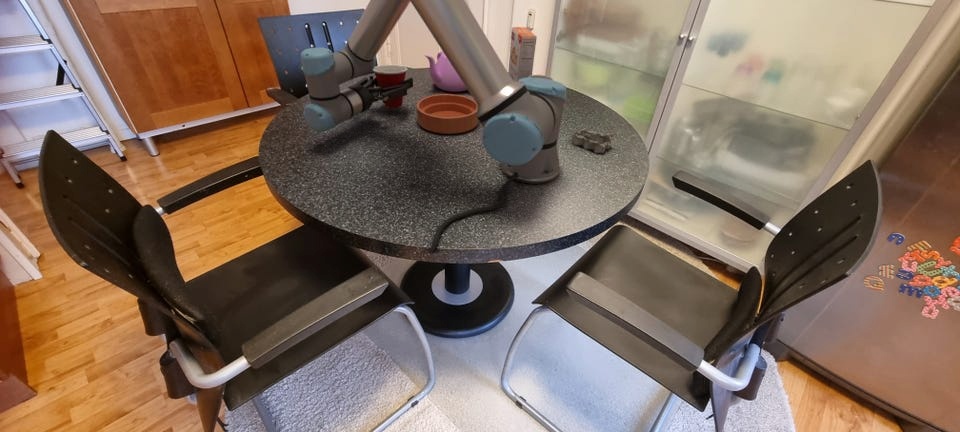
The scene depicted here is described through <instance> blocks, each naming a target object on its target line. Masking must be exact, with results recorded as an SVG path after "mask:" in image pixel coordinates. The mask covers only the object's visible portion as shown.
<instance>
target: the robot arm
mask: <svg viewBox="0 0 960 432" xmlns="http://www.w3.org/2000/svg"><path fill="white" fill-rule="evenodd" d="M410 4H412V6H413V7H414V10H415V11H416V12H417V14H418V15H419V17H420V18H421V20H422V21H423V23H424V24H425V26H426V28H427V29H428V31H429V32H430V34H431V35H432V37H433V38H434V40H435V41H436V43H437V44H438V46H439V48H440V49H441V52H444V54H445V55H446V57H447V58H448V60H449V61H450V63H451V65H452V66H453V68H454V69H455V71H456V72H457V74H458V75H459V77H460V78H461V80H462V81H463V83H464V85H465V86H466V88H467V89H468V90H467V91H468V93H469V94H470V95H471V97H472V99H473V100H474V101H475V102H476V103H477V106H478V108H477V114H476V117H477V118H478V122H479V123H480V124H481V126H482V137H481V141H482V144H483V147H484V149H485V150H486V152H487V154H488V155H489V156H490V157H491V158H493V159H494V160H495V161H496V162H498V163H500V169H501V171H502V173H503V174H504V175H505V176H506V177H508V179H507V180H506V181H505V182H504V183H503V185H502V186H501V188H500V191H499V197H500V198H499V201H498V203H496V204H494V205H491V206H484V207H477V208H472V209H468V210H466V211H463V212H460V213H457V214H454V215H452V216H450V217H449V218H447V219H445V220H444V221H443V222H442V223H440V224H439V226H438V227H437V229H436V231H435V233H434V236H433V240H432V242H431V246H430V249H429V254H430V255H433V254H435V252H436V248H437V246H438V243H439V239H440V236H441V234H442V232H443V230H444V229H445V228H446V227H447V226H448V225H449V224H450V223H452V222H454V221H456V220H458V219H461V218H465V217H467V216H470V215H474V214H478V213H486V212H491V211H495V210H497V209H500V208H501V207H502V206H503V205H504V203H505V200H506V198H505V191H506V189H507V188H508V186H509V185H510V184H511V183H513V181H517V182H520V183H524V184H530V185H540V184H541V185H542V184H546V183H549V182H551V181H553V180H555V179H556V178H557V177H558V175H559V172H560V159H559V152H558V147H557V145H558V140H559V135H560V130H561V125H562V124H561V123H562V119H563V113H564V110H565V104H566V101H567V87H566V85H565V84H563V83H562V82H559V81H556V80H554V79H553V80H548V79H542V78H522V79H519V80H518V81H517V82H516V81H513V80H512V79H511V77H510V75H509V74H508V70H507V68H506V67H505V65H504V63H503V62H502V61H501V59H500V57H499V55H498V54H497V52H496V50H495V49H494V47H493V46H492V44H491V42H490V40H489V39H488V37H487V35H486V34H485V32H484V30H483V29H482V27H481V25H480V24H479V23H478V21H477V19H476V17H475V15H474V14H473V12H472V10H471V9H470V7H469V5H468V3H467V2H466V0H369V2H368V4H367V5H366V8H364V10H363V13H362V15H361V17H360V19H359V20H358V22H357V24H356V26H355V28H354V30H353V31H352V33H351V35H350V37H349V39H348V41H347V42H346V44H345V46H344V47H343V48H342V49H340V50H337V51H334V52H333V51H332V50H331V49H329V48H327V47H309V48H306V49H303V50H302V51H301V53H300V60H301V61H300V62H301V67H302V68H301V69H302V72H303V75H304V78H305V83H306V86H307V87H306V88H307V90H308V94H309V103H308V104H306V105H305V106H304V108H303V112H302V115H303V118H304V121H305V123H306V124H307V126H308V127H309V128H311V129H312V130H313V131H316V132H319V133H322V132H326V131H328V130H330V129H333V128H336V127H337V126H339V125H340V124H342V123H345V122H346V121H348V120H351V119H352V118H353V117H354V118H355V117H356V116H358V115H360V114H362V113H364V112H366V111H368V110H370V108H372V105H373V104H374V103H376V102H379V101H382V104H384V103H387V102H389V101H391V100H394V99H397V98H400V97H403V98H404V97H405V96H408V90H410V89H411V88H413V87H414V78H413V77H409V78H407V79H405V81H403V82H401V83H399V85H396V86H391V87H386V88H382V87H378V86H379V85H378V82H377V79H376V78H375V77H374V76H373V75H369V78H368V77H364V78H362V79H361V80H359V81H357V82H356V83H354V84H352V85H349V86H348V87H347V88H344V89H341V90H340V85H342V84H344V83H346V82H349V81H351V80H354V79H357V78H359V77H361V76H365V75H367V74H369V73H370V72H373V69H374V68H375V67H376V66H377V54H378V53H379V52H380V50H381V48H382V47H383V46H384V44H385V42H386V41H387V40H388V38H389V36H390V35H391V33H392V31H393V30H394V28H395V27H396V25H397V23H398V22H399V20H400V19H401V18H402V15H403V14H404V13H405V11H406V10H407V8H408V7H409V5H410ZM374 85H375V86H374ZM376 87H377V88H376Z"/></svg>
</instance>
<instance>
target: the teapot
mask: <svg viewBox="0 0 960 432" xmlns="http://www.w3.org/2000/svg"><path fill="white" fill-rule="evenodd" d="M424 57H425V58H427V60H428V62H429V63H428V64H429V75H430V78H431V80H432V82H433V84H434V85H435V86H436V87H437V88H438V89H440V90H442V91H446V92H452V93H456V92H457V93H458V92H465V91H468V89H467V88H466V86H465V85H464V83H463V81H462V80H461V78H460V77H459V75H458V74H457V72H456V71H455V69H454V68H453V66H452V65H451V63H450V61H449V60H448V58H447V57H446V55H445V54H444V52H443V51H439V52H438V53H437V55H436V62H435V58H434V57H433V56H431V55H424Z"/></svg>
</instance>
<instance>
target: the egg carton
mask: <svg viewBox="0 0 960 432" xmlns="http://www.w3.org/2000/svg"><path fill="white" fill-rule="evenodd" d="M572 134H573V135H572V139H571V142H573V145H574V146H582V147H583V149H584V150H593V152H594V153H595V154H599V153H600V154H603V153H605V151H606V150H609V149H610V146H611V144H612V143H611V142H612V139H614V137H615V136H614V135H615V134H612V133H609V132H604V133H602V132H595V131H592V130H586V129H585V128H579V129H577V130H575V131H572Z"/></svg>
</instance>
